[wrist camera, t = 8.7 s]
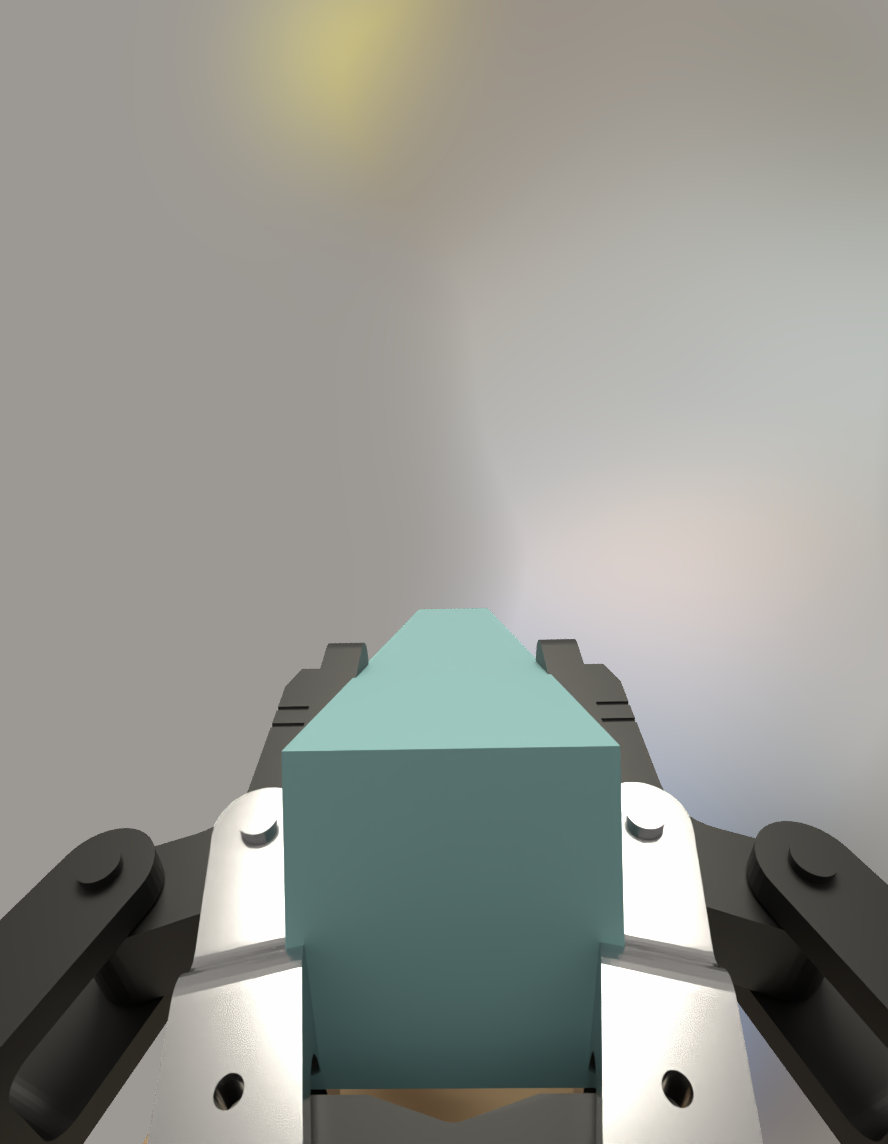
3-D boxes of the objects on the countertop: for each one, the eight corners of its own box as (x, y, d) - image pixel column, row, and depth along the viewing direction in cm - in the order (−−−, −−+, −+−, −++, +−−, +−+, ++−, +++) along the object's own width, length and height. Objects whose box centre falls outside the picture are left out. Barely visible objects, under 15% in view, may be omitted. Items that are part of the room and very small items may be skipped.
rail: (488, 676, 30) (487, 608, 30) (628, 1086, 6) (620, 745, 6) (420, 677, 30) (419, 609, 30) (288, 1089, 6) (281, 751, 6)
